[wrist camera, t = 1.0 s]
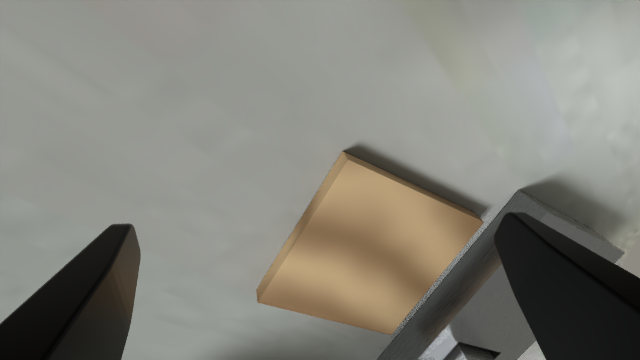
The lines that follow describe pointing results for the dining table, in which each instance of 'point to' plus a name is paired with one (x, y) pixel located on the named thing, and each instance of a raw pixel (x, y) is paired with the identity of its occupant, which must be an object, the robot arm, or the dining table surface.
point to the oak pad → (366, 248)
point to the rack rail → (484, 296)
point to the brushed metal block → (468, 353)
